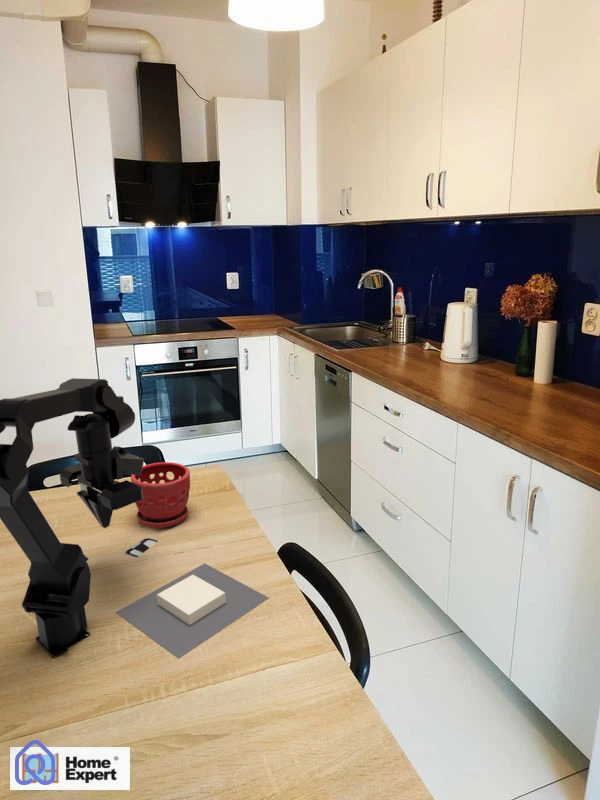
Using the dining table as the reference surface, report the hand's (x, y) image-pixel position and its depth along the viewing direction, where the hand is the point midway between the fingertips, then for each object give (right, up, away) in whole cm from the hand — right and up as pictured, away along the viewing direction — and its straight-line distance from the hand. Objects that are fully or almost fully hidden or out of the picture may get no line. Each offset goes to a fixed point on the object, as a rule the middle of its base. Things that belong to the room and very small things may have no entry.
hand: (105, 526), depth 107 cm
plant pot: (+4, -5, +28) cm, 29 cm away
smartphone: (+8, -9, +13) cm, 17 cm away
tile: (+13, -11, -2) cm, 17 cm away
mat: (+17, -13, -5) cm, 22 cm away
